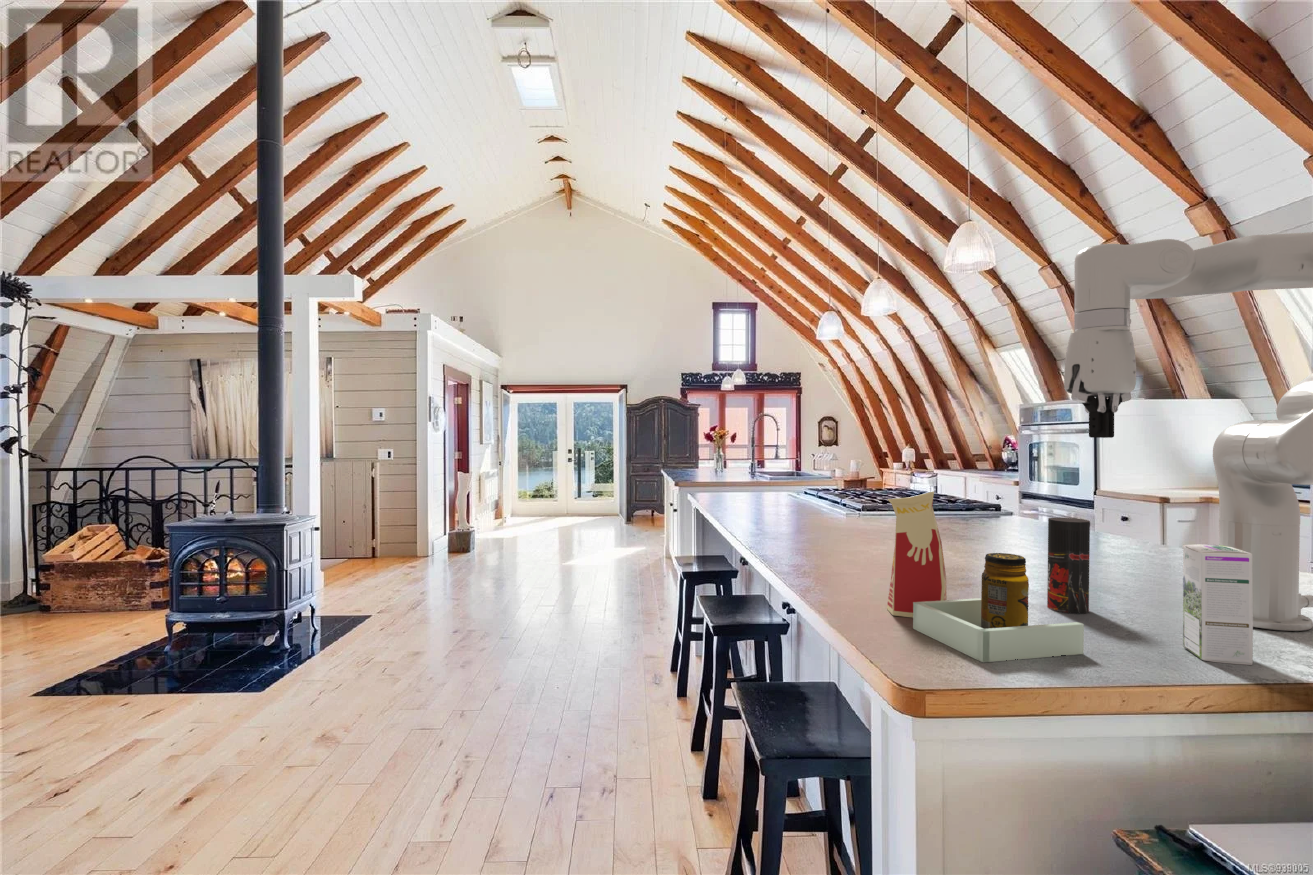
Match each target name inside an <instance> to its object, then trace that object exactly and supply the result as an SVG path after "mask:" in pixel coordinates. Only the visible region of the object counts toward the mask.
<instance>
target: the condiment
mask: <svg viewBox="0 0 1313 875" xmlns="http://www.w3.org/2000/svg"><path fill="white" fill-rule="evenodd" d="M984 560H985V561H984V562H985V563H984V564H983V565H984V566H983V567H984V570H983V571H982V573H981V597H980V598H981V626H980V627H981V628H983V629H989V628H1003V627H1017V626H1029V589H1030V588H1029V586H1030V584H1029V582H1030V581H1029V576H1027V574H1026V572H1027V568H1026V567H1027V564H1026V563H1027V560H1026V557H1024V556H1022V555H1019V554H1018V555H1017V554H1014V553H1005V552H1003V553H1002V552H991V553H986V554H985V557H984Z"/></svg>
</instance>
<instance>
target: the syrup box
mask: <svg viewBox="0 0 1313 875" xmlns="http://www.w3.org/2000/svg"><path fill="white" fill-rule="evenodd" d="M1182 552H1183V553H1182V555H1183V556H1182V565H1183V566H1182V567H1183V568H1182V590H1183V591H1182V596H1183V597H1182V599H1183V600H1182V606H1183V607H1182V646H1183V648H1184V649H1185V650H1187V651H1189V652H1190V653H1192V655H1194V656H1196V657H1197V658H1199V660H1202V661H1205V662H1206V661H1207V662H1212V663H1213V662H1214V663H1223V664H1233V665H1245V666H1246V665H1247V666H1249V665H1250V666H1252V665H1253V662H1254V660H1253V658H1254V657H1253V656H1254V655H1253V654H1254V653H1253V651H1254V648H1253V647H1254V646H1253V645H1254V644H1253V643H1254V627H1253V589H1252V554H1251V553H1248V552H1245V551H1242V550H1239V549H1236V548H1232V547H1229V546H1221V545H1219V544H1207V543H1205V544H1203V543H1202V544H1197V543H1196V544H1195V543H1194V544H1183V547H1182Z"/></svg>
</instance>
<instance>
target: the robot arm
mask: <svg viewBox="0 0 1313 875" xmlns="http://www.w3.org/2000/svg"><path fill="white" fill-rule="evenodd" d="M1311 288H1312V289H1313V231H1309V232H1293V233H1292V232H1291V233H1272V234H1253V235H1247V236H1241V237H1238V238H1234V239H1229V240H1226V241H1223V242H1220V243H1219V242H1218V243H1215V244H1213V245H1209V246H1205V247H1201V248H1196V249H1193V247H1192V246H1191V245H1189V244H1187V242H1184V241H1183V240H1179V239H1174V238H1173V239H1172V238H1163V239H1155V240H1151V241H1150V240H1149V241H1143V242H1138V243H1132V244H1131V243H1130V244H1122V243H1121V244H1120V243H1104V244H1096V245H1092V246H1089V247H1085V248H1084V249H1081V250H1079V252H1078V253H1076V255H1075V257H1074V313H1073V314H1074V317H1073V319H1074V322H1073V324H1074V326H1073V327H1074V328H1073V329H1074V330H1073V331H1074V332H1071V333H1070V335H1069V338H1068V341H1067V347H1066V353H1065V362H1064V372H1063V374H1064V375H1063V377H1064V378H1063V379H1064V380H1063V384H1064V385H1063V386H1064V387H1063V388H1064V390H1065V392H1066V393H1068V394H1071V395H1070V398H1071V400H1072V401H1075V402H1078V403H1081V404H1082V405H1083V406H1084V411H1085V413H1087V414H1088V437H1089V438H1093V439H1095V438H1097V439H1098V438H1099V439H1102V438H1103V439H1104V438H1105V439H1106V438H1107V439H1109V438H1111V439H1112V438H1114V437H1115V414H1116V413H1117V412H1118V411H1119V406H1120V405H1121V403H1125V402H1129V401H1131V400H1132V393H1131V392H1133V391H1134V390H1135V389H1136V384H1137V383H1136V382H1137V363H1136V362H1137V361H1136V360H1137V359H1136V351H1135V343H1134V338H1133V333H1132V331H1131V324H1132V319H1131V300H1150V299H1151V300H1152V299H1154V300H1155V299H1167V298H1168V299H1170V298H1171V299H1172V298H1180V297H1181V298H1182V297H1183V298H1184V297H1190V296H1203V295H1217V294H1230V293H1237V292H1247V291H1262V290H1263V291H1264V290H1288V289H1289V290H1290V289H1291V290H1293V289H1311ZM1275 411H1276V412H1275V414H1276V418H1277V419H1255V420H1246V421H1240V422H1237V423H1234V424H1232V425H1230V426H1228V427H1226V428H1225V429H1223V430H1222V431H1221V432H1220V433H1219V434H1218V435H1217V437H1216V439H1215V441H1214V442H1213V447H1212V460H1213V466H1214V472H1215V474H1216V479H1217V486H1218V487H1217V488H1218V497H1219V500H1218V501H1219V504H1218V506H1219V509H1218V510H1219V512H1218V513H1219V518H1218V545H1221V546H1229V547H1232V548H1236V549H1239V550H1242V551H1245V552H1248V553H1251V554H1252V589H1253V628H1257V629H1263V630H1264V629H1265V630H1274V631H1285V632H1288V631H1290V632H1291V631H1293V632H1299V631H1300V632H1301V631H1302V632H1303V631H1308V630H1311V629H1312V628H1313V620H1312V619H1311V617H1308V616H1306V615H1304V614H1302V610H1303V609H1304V608H1306V609H1307V608H1313V595H1312V594H1303V595H1302V593H1300V542H1301V541H1300V539H1301V538H1300V534H1301V533H1300V532H1301V531H1300V529H1301V527H1300V526H1301V509H1300V502H1299V499H1298V497H1297V494H1296V491H1295V489H1294V486H1293V485H1301V486H1303V485H1304V486H1308V485H1309V486H1312V485H1313V372H1312V373H1310V374H1309V375H1307V376H1306V377H1305V378H1303V379H1302V380H1301V381H1299V382H1297V383H1296V384H1295V385H1294V386H1292V387H1291V388H1290V389H1289V390H1287V391H1286V392H1285V393H1284V394H1283V395H1282V397H1280V399H1279V401H1278V402H1277V406H1276V410H1275Z"/></svg>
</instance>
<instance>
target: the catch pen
mask: <svg viewBox="0 0 1313 875" xmlns="http://www.w3.org/2000/svg"><path fill="white" fill-rule="evenodd" d="M912 619H913V620H912V629H913V630H915V631H917V632H919V633H921V634H924V636H925V635H926V636H927V637H930V638H932V639H933V640H936V641H937V642H940V643H942V644H944V645H946V646H948V647H950V648H952V649H954V650H955V651H958V652H960V653H962V654H965V655H966V656H969V657H970V658H972V659H974V660H977V661H978V662H981V663H992V662H1006V660H1007V661H1018V660H1027V659H1029V660H1031V659H1040V658H1052V656H1054V657H1062V656H1061V655H1066V656H1076V655H1084V654H1085V652H1084V648H1085V647H1084V646H1085V645H1084V644H1085V643H1084V640H1085V633H1084V630H1085V629H1084V628H1085V624H1084V623H1082V622H1079V621H1074V622H1062V623H1061V622H1059V623H1048V624H1046V623H1045V624H1035V625H1031V624H1030V625H1028V626H1017V627H1003V628H989V629H983V628H981V597H978V598H975V597H974V598H965V599H964V598H962V599H959V598H958V599H947V600H942V601H925V602H913V617H912ZM1015 659H1016V660H1015ZM1017 659H1018V660H1017Z"/></svg>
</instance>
